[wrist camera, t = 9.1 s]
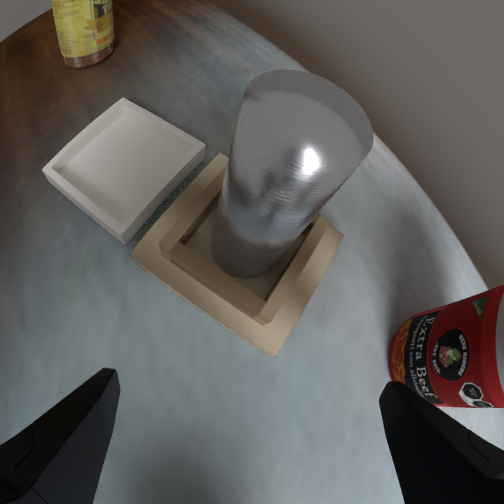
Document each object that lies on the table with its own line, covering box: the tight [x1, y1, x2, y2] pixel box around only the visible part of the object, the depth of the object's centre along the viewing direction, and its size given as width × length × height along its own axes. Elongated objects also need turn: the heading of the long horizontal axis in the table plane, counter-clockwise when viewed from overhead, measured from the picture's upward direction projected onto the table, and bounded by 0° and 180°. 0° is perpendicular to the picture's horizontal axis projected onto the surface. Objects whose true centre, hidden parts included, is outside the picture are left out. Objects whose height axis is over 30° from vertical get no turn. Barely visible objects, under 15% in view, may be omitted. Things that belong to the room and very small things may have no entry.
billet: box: [211, 70, 373, 279], centre depth 14 cm, size 4×4×12 cm
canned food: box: [389, 285, 504, 408], centre depth 16 cm, size 8×8×11 cm
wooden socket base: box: [129, 152, 344, 357], centre depth 20 cm, size 10×11×3 cm
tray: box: [42, 98, 206, 246], centre depth 21 cm, size 9×9×2 cm
